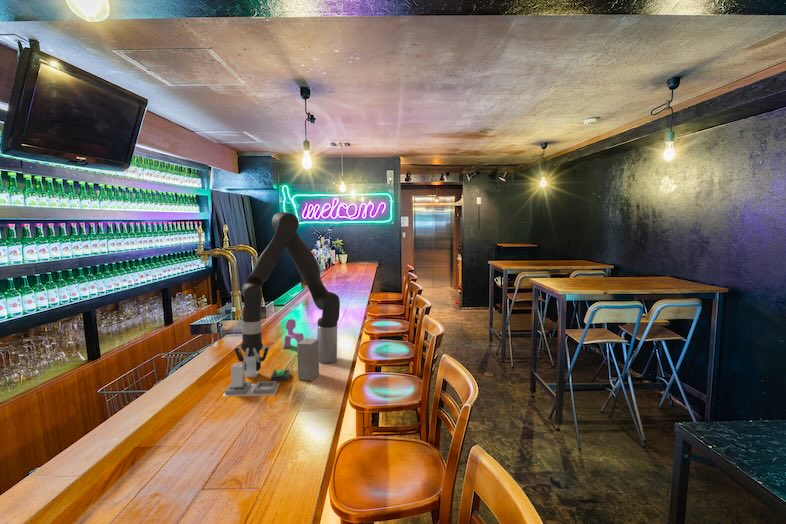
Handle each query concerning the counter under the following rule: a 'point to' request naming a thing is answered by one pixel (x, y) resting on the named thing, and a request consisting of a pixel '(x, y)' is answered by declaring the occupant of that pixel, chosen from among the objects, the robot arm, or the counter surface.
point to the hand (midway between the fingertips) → (252, 370)
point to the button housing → (280, 376)
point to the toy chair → (292, 333)
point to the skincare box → (308, 359)
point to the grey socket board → (254, 389)
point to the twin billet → (238, 376)
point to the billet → (251, 366)
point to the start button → (280, 372)
